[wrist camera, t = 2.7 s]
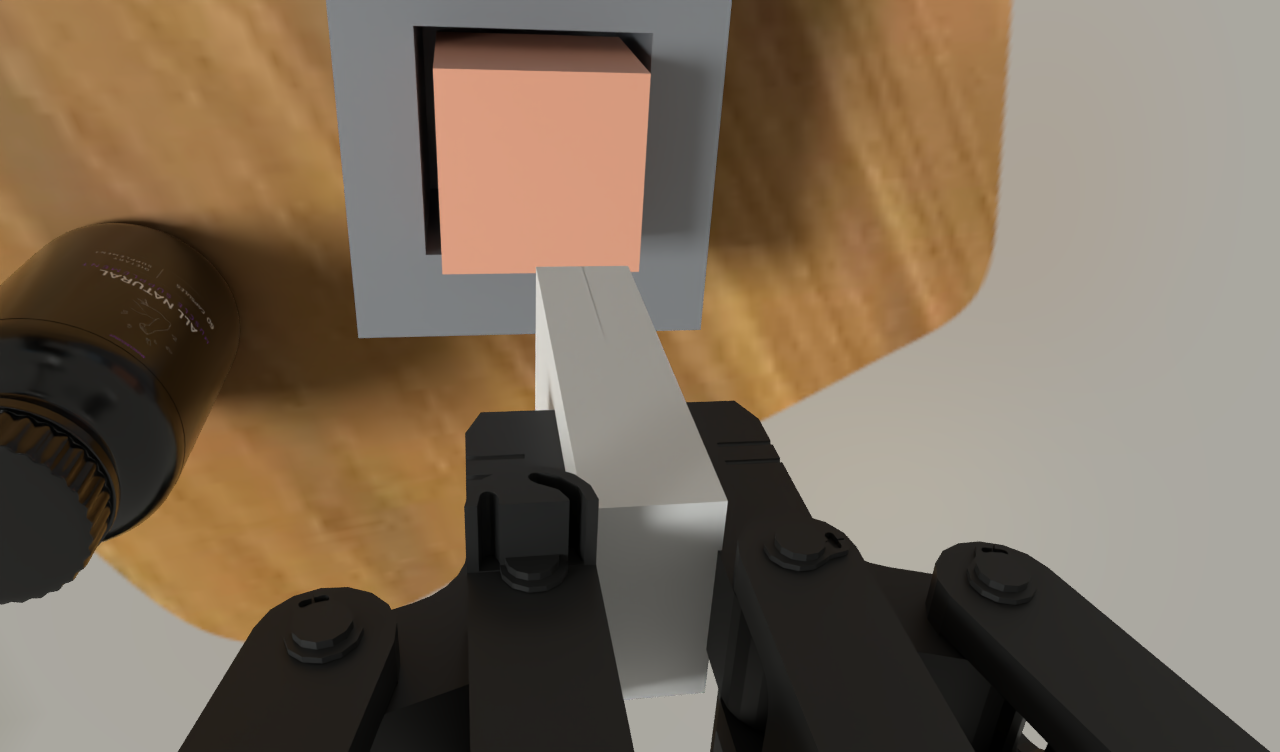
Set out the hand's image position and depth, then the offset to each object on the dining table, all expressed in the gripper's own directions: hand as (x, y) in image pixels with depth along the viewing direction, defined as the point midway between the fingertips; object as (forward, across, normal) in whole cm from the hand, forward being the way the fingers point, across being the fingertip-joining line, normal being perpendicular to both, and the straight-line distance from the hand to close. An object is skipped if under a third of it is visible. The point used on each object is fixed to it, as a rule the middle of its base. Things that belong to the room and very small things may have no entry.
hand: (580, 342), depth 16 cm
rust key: (+14, 0, 0) cm, 14 cm away
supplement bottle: (+18, -13, -7) cm, 23 cm away
